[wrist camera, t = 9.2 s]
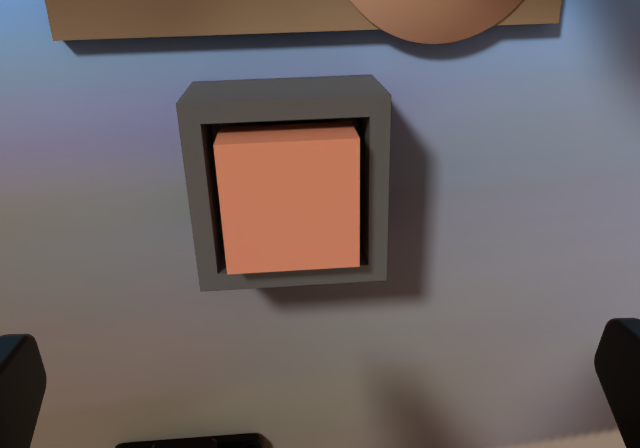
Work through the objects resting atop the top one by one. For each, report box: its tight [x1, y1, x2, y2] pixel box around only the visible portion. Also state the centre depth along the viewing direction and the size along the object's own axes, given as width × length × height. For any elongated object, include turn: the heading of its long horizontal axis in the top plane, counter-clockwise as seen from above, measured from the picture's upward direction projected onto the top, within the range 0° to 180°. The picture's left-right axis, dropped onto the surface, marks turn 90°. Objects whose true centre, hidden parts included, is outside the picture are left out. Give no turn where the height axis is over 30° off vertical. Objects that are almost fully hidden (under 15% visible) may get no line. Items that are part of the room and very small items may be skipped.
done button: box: [213, 121, 360, 274], centre depth 17 cm, size 4×4×2 cm
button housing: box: [176, 75, 391, 292], centre depth 18 cm, size 6×6×4 cm
